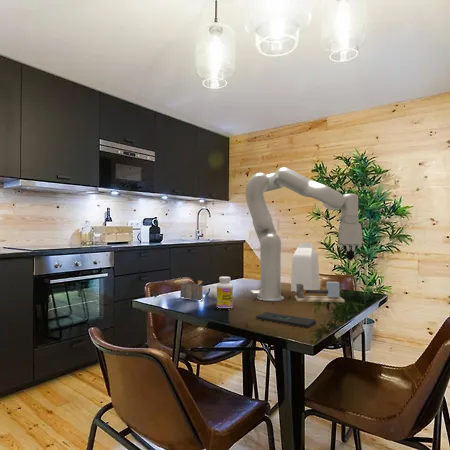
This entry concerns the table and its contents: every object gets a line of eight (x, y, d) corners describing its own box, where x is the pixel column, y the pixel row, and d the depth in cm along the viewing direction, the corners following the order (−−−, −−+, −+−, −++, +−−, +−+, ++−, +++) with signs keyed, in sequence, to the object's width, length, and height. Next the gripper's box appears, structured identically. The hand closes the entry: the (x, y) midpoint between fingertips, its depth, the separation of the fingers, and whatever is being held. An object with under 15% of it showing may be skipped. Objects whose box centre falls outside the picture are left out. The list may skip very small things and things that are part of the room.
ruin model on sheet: (203, 301, 155) (203, 280, 155) (198, 302, 153) (198, 281, 153) (184, 298, 162) (184, 278, 162) (180, 299, 159) (180, 279, 159)
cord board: (297, 301, 154) (297, 286, 154) (295, 297, 162) (294, 283, 163) (344, 302, 152) (344, 286, 152) (339, 298, 161) (339, 283, 161)
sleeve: (328, 297, 155) (328, 282, 155) (326, 295, 159) (326, 281, 159) (339, 297, 154) (339, 283, 155) (337, 295, 158) (337, 281, 159)
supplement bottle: (221, 310, 135) (221, 278, 136) (214, 307, 141) (214, 276, 141) (235, 309, 138) (235, 277, 139) (228, 305, 144) (228, 275, 144)
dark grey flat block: (265, 311, 129) (316, 319, 118) (265, 315, 129) (316, 324, 117) (254, 315, 122) (307, 324, 111) (254, 320, 122) (307, 329, 111)
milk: (290, 291, 180) (290, 242, 180) (299, 288, 189) (299, 242, 190) (312, 293, 173) (312, 243, 174) (320, 290, 183) (319, 242, 183)
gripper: (335, 220, 154) (335, 260, 153) (369, 219, 152) (369, 260, 152) (331, 220, 161) (331, 259, 161) (363, 220, 160) (364, 259, 159)
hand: (350, 259), depth 156 cm, fingers closed
